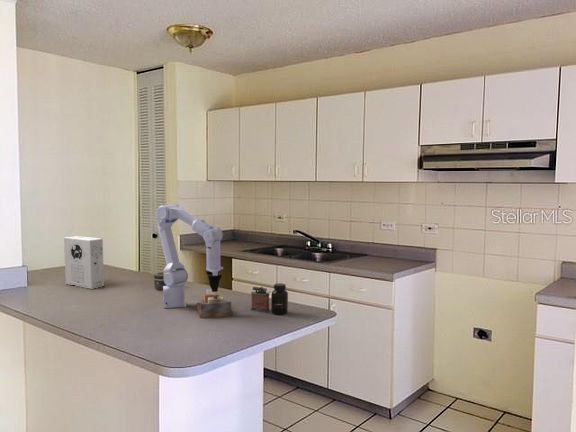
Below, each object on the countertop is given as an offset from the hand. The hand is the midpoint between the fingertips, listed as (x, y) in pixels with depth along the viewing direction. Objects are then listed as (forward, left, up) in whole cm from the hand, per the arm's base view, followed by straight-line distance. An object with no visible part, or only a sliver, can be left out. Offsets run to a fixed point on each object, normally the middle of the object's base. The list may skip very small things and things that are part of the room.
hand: (213, 289), depth 204 cm
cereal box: (-60, +66, -10) cm, 90 cm away
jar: (-20, +49, -10) cm, 54 cm away
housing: (+1, -1, -8) cm, 8 cm away
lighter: (+19, -3, -10) cm, 22 cm away
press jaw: (0, +15, -8) cm, 17 cm away
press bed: (0, +7, -9) cm, 12 cm away
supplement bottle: (+26, -9, -10) cm, 29 cm away
